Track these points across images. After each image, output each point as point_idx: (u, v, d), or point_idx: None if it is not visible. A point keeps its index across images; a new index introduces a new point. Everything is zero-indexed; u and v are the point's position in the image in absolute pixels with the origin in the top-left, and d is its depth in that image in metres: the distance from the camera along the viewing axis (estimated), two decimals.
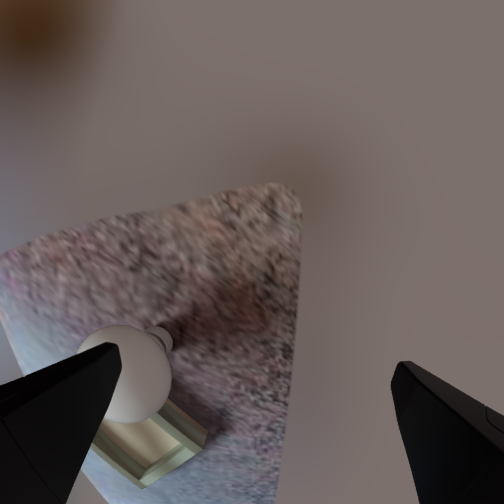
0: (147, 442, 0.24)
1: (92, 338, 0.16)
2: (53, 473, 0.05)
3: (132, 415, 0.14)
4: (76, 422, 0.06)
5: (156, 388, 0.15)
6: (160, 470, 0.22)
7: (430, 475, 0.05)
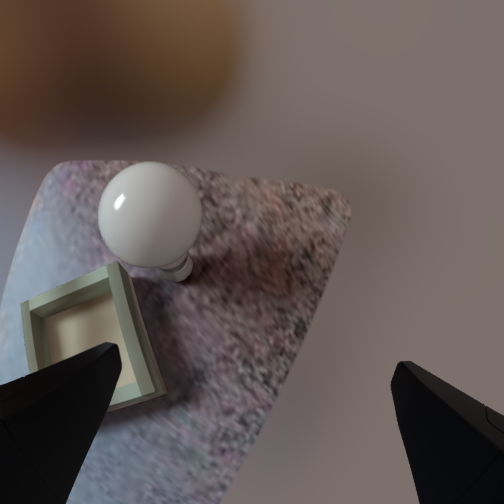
0: None
1: None
2: (53, 473, 0.05)
3: (145, 217, 0.15)
4: (76, 422, 0.06)
5: (185, 213, 0.16)
6: None
7: (430, 475, 0.05)
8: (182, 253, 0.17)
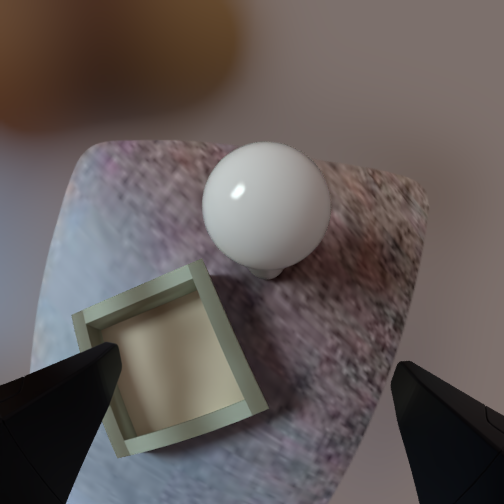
0: (170, 393, 0.18)
1: None
2: (53, 473, 0.05)
3: (290, 212, 0.12)
4: (76, 422, 0.06)
5: (327, 206, 0.13)
6: (175, 431, 0.15)
7: (430, 475, 0.05)
8: (311, 252, 0.15)
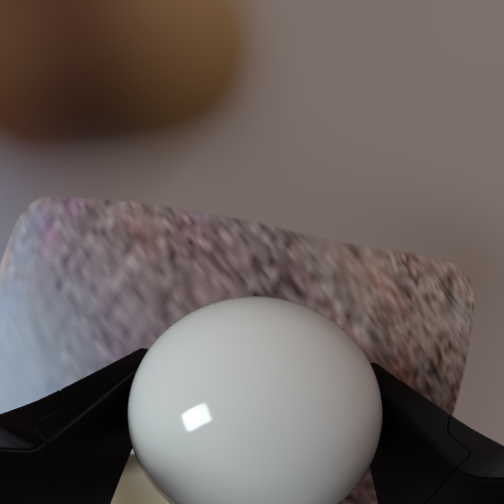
0: None
1: None
2: (95, 490, 0.05)
3: None
4: (115, 434, 0.06)
5: (375, 450, 0.05)
6: None
7: (389, 484, 0.05)
8: None
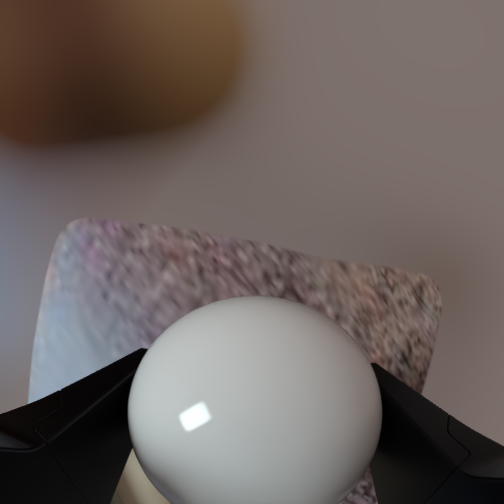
0: None
1: (257, 296, 0.07)
2: (94, 490, 0.05)
3: None
4: (115, 434, 0.06)
5: (375, 450, 0.05)
6: None
7: (389, 484, 0.05)
8: None
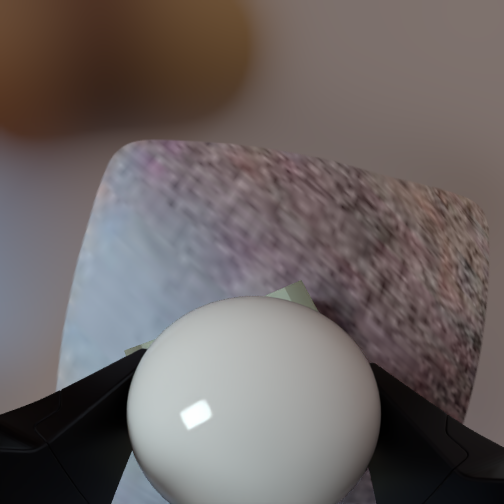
0: None
1: (255, 296, 0.07)
2: (95, 490, 0.05)
3: None
4: (116, 435, 0.06)
5: (374, 450, 0.05)
6: None
7: (387, 484, 0.05)
8: None
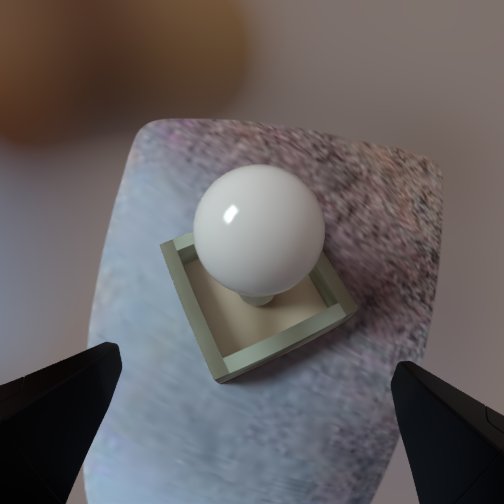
0: (259, 315, 0.21)
1: None
2: (53, 473, 0.05)
3: (284, 236, 0.12)
4: (76, 422, 0.06)
5: (321, 230, 0.13)
6: (278, 339, 0.18)
7: (430, 475, 0.05)
8: None
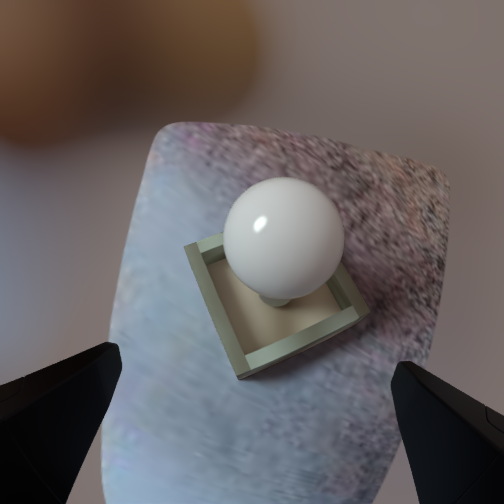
0: (277, 315, 0.22)
1: None
2: (53, 473, 0.05)
3: (310, 246, 0.13)
4: (76, 422, 0.06)
5: (342, 240, 0.14)
6: (296, 338, 0.19)
7: (430, 475, 0.05)
8: None
